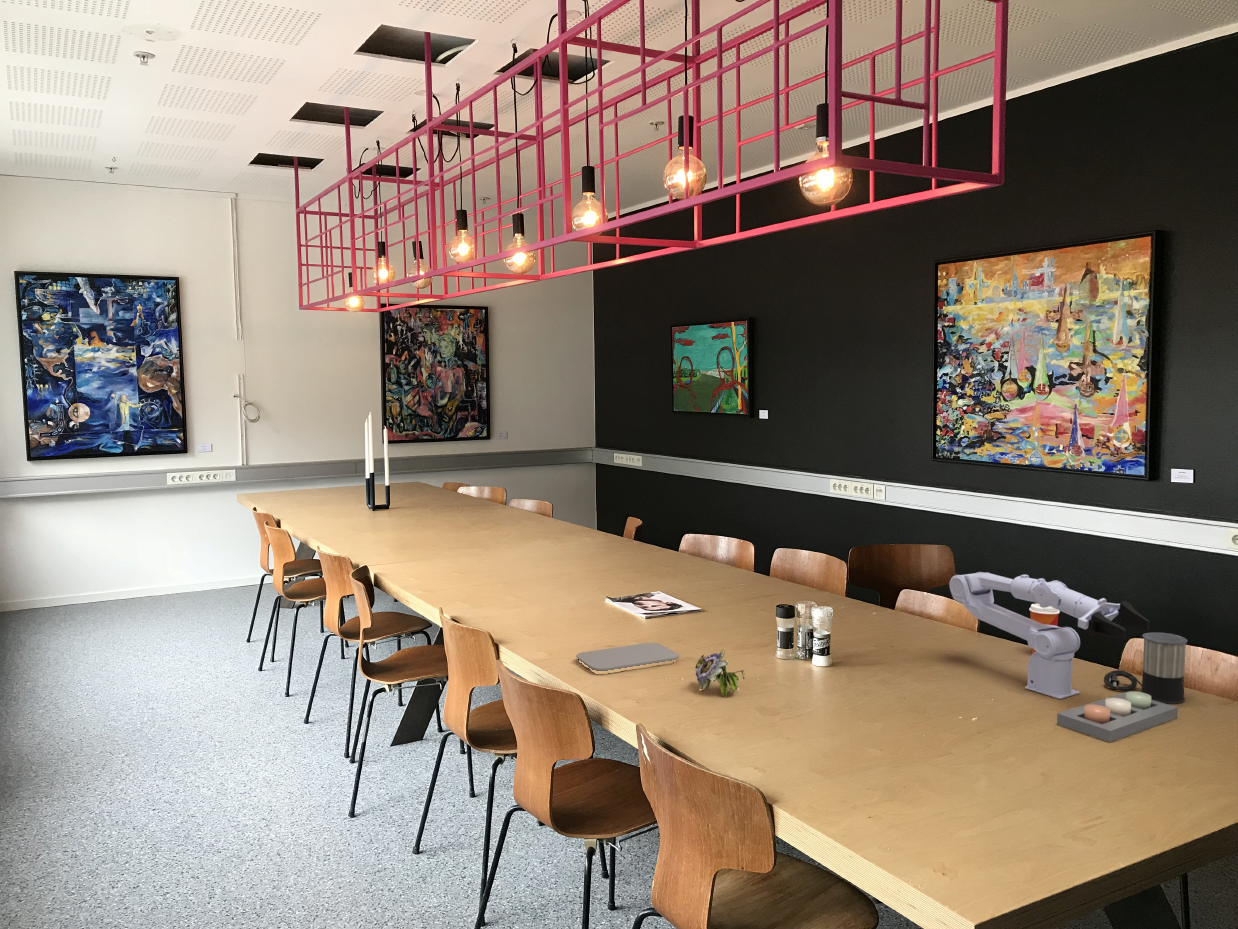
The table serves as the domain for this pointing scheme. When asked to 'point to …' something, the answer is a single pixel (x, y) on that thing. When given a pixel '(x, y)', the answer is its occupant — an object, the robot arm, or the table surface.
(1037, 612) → the paper cup
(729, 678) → the passion flower
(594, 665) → the tablet
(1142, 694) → the button sage
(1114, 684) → the milk frother
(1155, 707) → the button board
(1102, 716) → the button terracotta
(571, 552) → the table surface
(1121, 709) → the button cream
